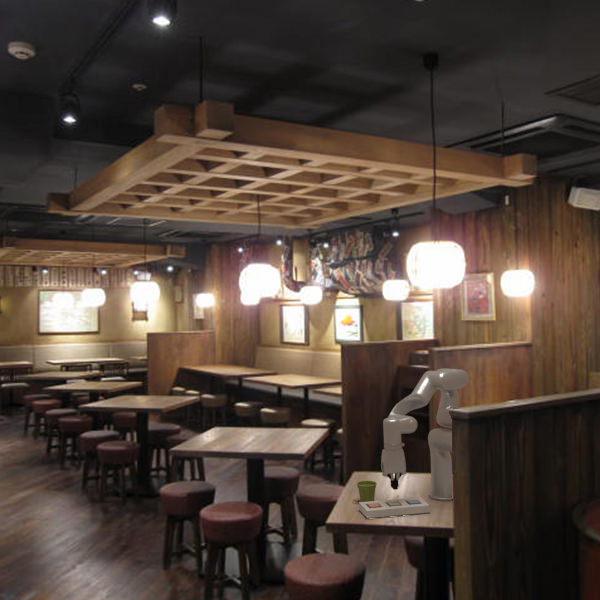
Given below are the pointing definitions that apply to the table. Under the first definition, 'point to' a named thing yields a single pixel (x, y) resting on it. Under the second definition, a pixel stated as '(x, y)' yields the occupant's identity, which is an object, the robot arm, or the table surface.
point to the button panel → (394, 508)
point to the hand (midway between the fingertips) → (394, 488)
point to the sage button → (393, 503)
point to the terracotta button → (373, 505)
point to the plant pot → (366, 490)
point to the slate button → (412, 502)
